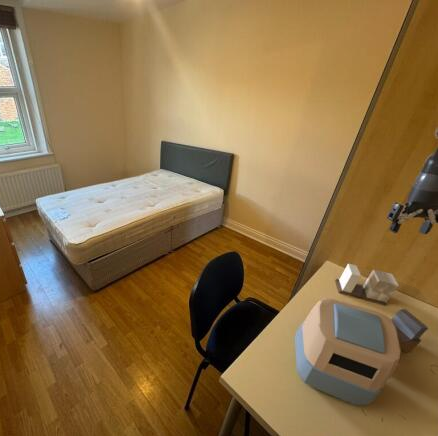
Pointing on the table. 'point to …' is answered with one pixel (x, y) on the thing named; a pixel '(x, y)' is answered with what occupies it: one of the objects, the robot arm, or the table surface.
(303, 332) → the alarm clock
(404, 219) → the robot arm
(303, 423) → the table surface
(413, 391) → the table surface
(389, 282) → the brown base with block
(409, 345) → the grey shelf
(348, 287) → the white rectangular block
